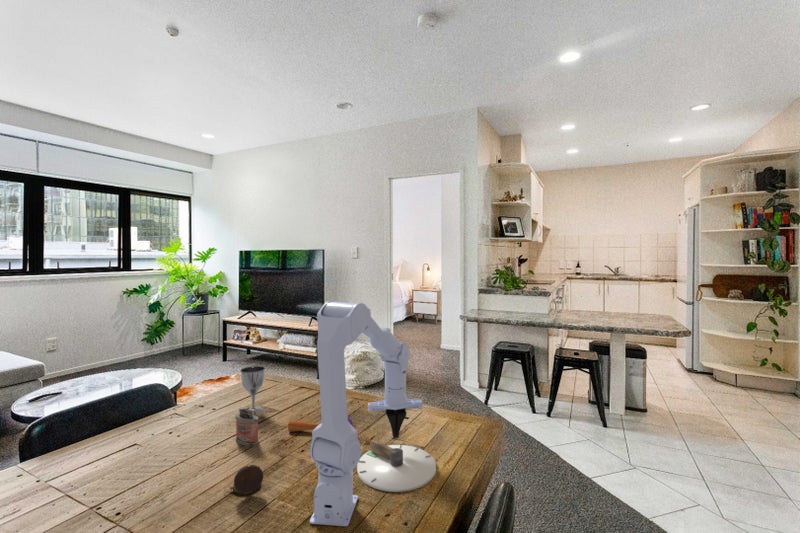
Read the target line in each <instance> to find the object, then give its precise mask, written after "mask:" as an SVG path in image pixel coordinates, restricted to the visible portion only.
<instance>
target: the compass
mask: <svg viewBox="0 0 800 533" xmlns="http://www.w3.org/2000/svg"><path fill="white" fill-rule="evenodd" d="M263 479H264V472H263V469H262V468H261V467H260V466H258V465H255V464H250V463H248V465H246V466H243V467H242V468H240V469H239V470H238V471H237V472H236V474H235V476H234V479H233V485H232V486H231V485H229V486H226V487H225V488H224V489H223V491H224V492H226V490H225V489H227V488H229V490H228V492H230V491H232V492H233V493H235V494H236V495H240V496H244V495H249V494H253V493H254V492H255V491H257V490H258V489H259V488H260V487H261V486H262V482H263V481H264V480H263Z"/></svg>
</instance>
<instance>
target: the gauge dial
mask: <svg viewBox="0 0 800 533" xmlns="http://www.w3.org/2000/svg"><path fill="white" fill-rule="evenodd" d="M387 446H389V447H391V448H393V449H394V448H399V449H402V450H403V464H402V465H401V466H392V465H391V464H390V460H388V459H386V458H384V457H382V456H380V455H378V454H376V453H373V452H371V451H370V450H369V451H367V452H365V453H364V454H363V455H361V456H360V460H359V462H358V464H357V466H356V472H357V475H358V478H359V479H360V480H361V481H362V482H363V483H364V484H365V485H366V486H369V487H371V488H373V489H376V490H379V491H382V492H389V493H392V492H393V493H403V492H409V491H414V490H416V489H419V488H422V487H424V486H426V485H427V484H429V483H430V482H431V481H432V480H433V479H434V477H435V476H436V474H437V473H436V472H437V463H436V460H435V458H434V457H433V456H432V455H431V454H430V453H429V452H427V451H425V450H423V449H421V448H419V447H415V446H411V445H406V444H405V445H404V444H390V445H387Z"/></svg>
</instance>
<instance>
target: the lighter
mask: <svg viewBox="0 0 800 533" xmlns="http://www.w3.org/2000/svg"><path fill="white" fill-rule="evenodd" d="M250 408H251V407H250V406H246V407H243V406H242V407H241V406H240V407H239V410H238V412H239V413H237V414H236V415H235V416H234V417H235V419H236V420H235V421H236V422H235V428H236V430H235V432H236V433H235V434H236V437H235V442H236V443H238V444H240V445H243V446H247V447H255V446H258V445H259V444H260V440H259V419H260V418H259V417H258V415H256V410H253V409H250ZM254 415H255V416H254Z"/></svg>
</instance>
